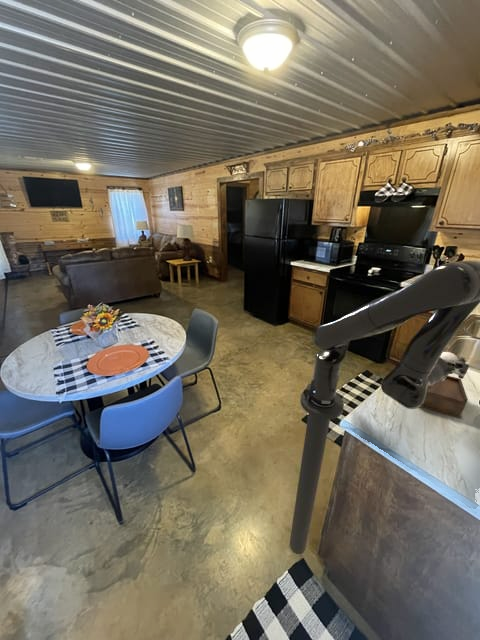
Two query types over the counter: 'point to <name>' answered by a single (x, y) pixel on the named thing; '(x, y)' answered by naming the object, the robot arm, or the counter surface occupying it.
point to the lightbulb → (448, 357)
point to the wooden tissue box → (447, 397)
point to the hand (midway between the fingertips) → (450, 356)
